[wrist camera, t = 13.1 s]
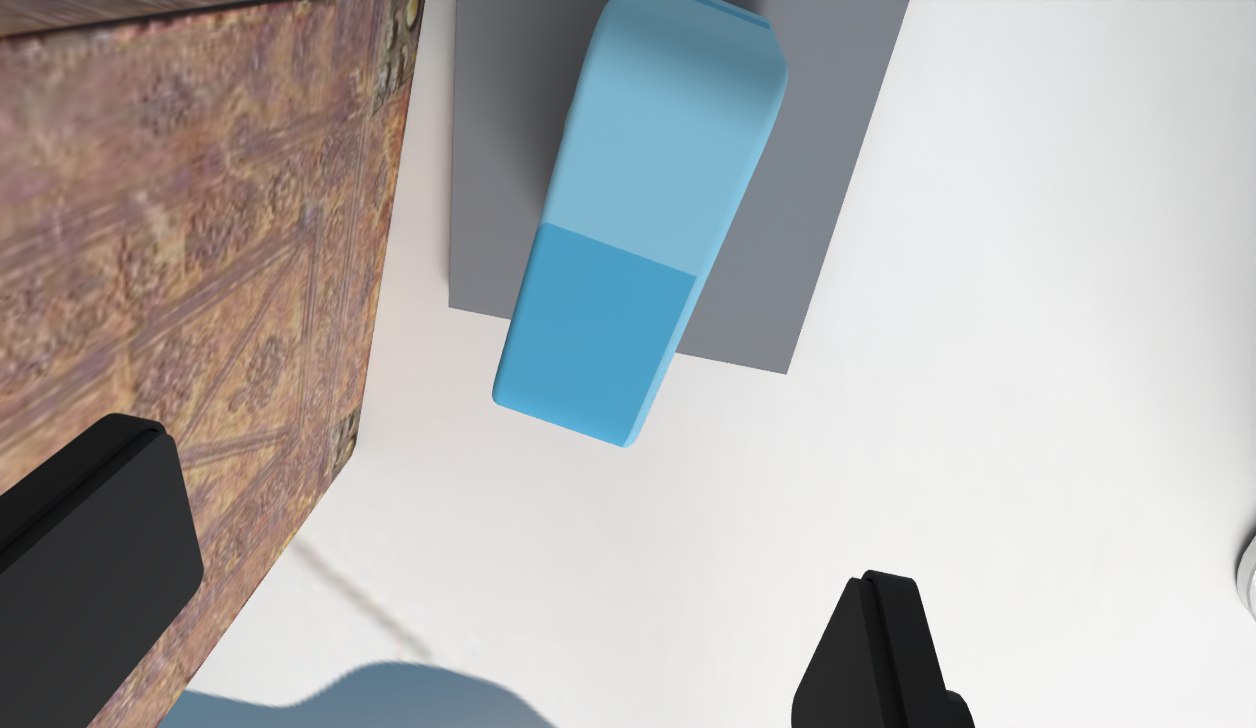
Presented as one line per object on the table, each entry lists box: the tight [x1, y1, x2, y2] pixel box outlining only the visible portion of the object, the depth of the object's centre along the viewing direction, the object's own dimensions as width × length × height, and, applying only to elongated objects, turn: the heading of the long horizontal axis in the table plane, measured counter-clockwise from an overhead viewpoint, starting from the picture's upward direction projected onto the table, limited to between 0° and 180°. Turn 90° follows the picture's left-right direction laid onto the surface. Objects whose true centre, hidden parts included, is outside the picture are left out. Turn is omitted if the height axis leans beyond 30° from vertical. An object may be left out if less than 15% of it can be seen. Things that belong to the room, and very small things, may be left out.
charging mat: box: [449, 0, 909, 374], centre depth 27 cm, size 16×26×1 cm, turn 171°
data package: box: [492, 0, 788, 447], centre depth 24 cm, size 12×4×12 cm, turn 161°
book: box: [0, 0, 425, 728], centre depth 21 cm, size 25×9×30 cm, turn 161°
